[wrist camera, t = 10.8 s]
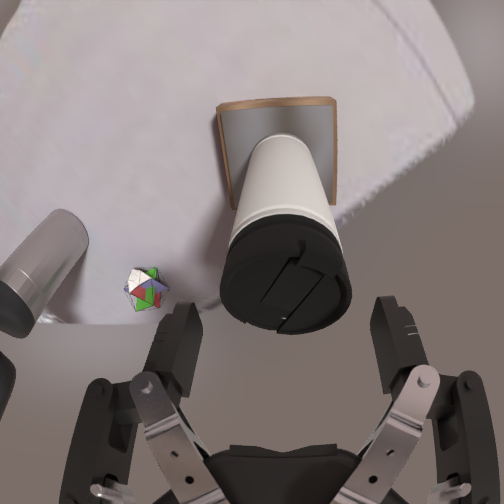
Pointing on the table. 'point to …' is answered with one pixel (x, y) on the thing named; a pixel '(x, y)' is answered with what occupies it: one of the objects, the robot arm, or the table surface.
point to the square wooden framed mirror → (277, 121)
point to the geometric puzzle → (145, 288)
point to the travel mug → (284, 245)
